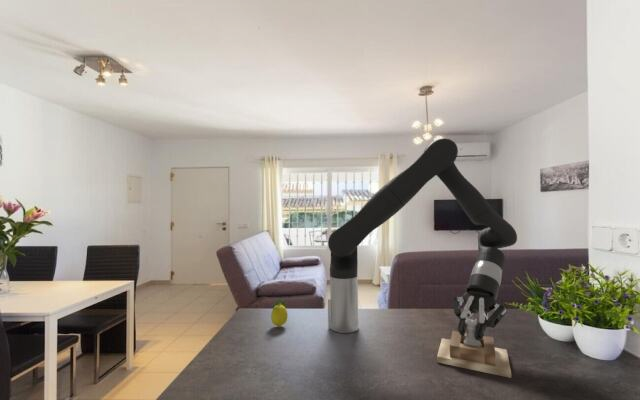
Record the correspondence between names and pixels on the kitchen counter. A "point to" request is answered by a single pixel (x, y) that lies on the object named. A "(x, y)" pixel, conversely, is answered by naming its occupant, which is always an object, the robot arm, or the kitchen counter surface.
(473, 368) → the press socket
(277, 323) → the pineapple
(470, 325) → the rook chess piece
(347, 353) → the kitchen counter surface
